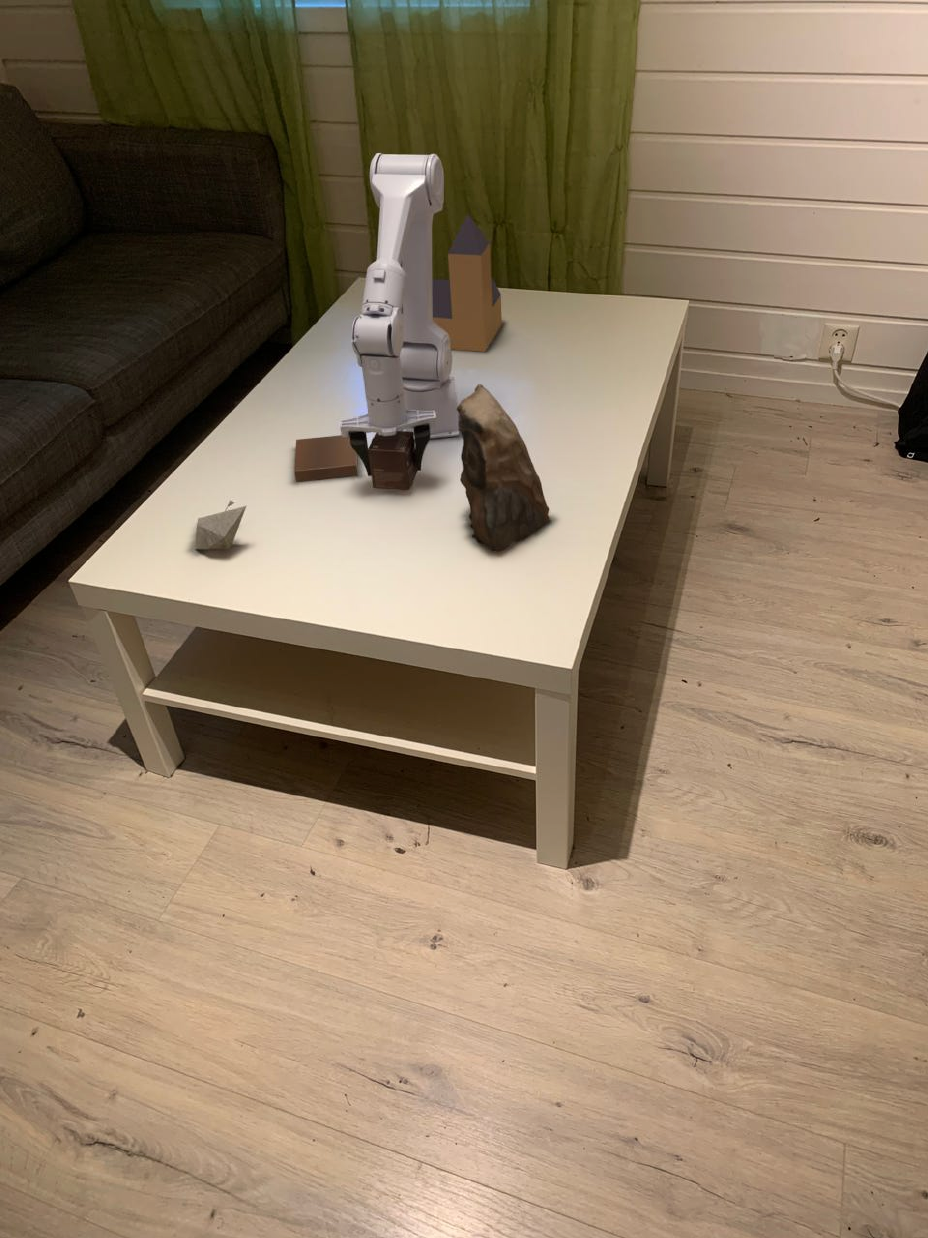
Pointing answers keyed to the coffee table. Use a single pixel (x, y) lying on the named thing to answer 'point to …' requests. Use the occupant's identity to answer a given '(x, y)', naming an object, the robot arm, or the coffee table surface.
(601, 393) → the coffee table surface
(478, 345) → the toy building blocks
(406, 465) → the box
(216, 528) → the paper boat
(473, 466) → the brown rock
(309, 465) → the copper block
